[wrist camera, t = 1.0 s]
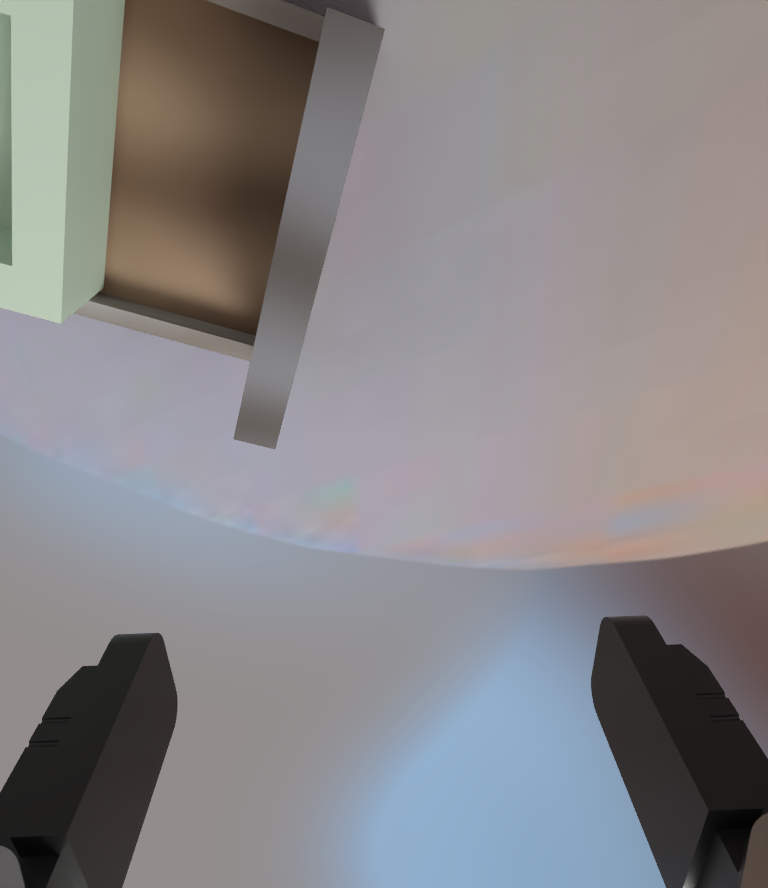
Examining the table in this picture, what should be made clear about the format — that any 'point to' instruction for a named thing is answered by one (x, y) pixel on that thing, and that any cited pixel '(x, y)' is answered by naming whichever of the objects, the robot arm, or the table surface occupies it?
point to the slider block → (56, 150)
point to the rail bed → (231, 179)
